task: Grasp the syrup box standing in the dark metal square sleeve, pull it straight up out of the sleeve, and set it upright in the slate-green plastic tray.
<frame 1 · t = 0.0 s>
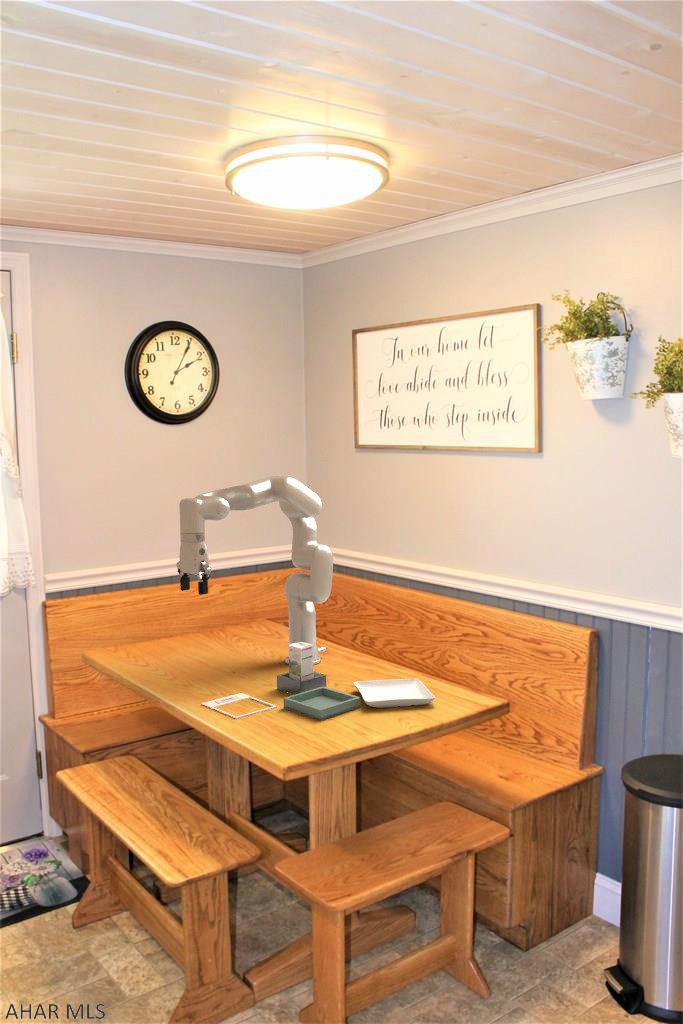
hand: (194, 592, 268), 31 cm above the table, tool pointing down, fingers open, 9 cm apart
syrup box: (301, 689, 270), resting in sleeve
sleeve: (301, 689, 270), on the table
tray: (322, 707, 252), on the table
salad plate: (392, 700, 260), on the table
photo frame: (239, 708, 254), on the table
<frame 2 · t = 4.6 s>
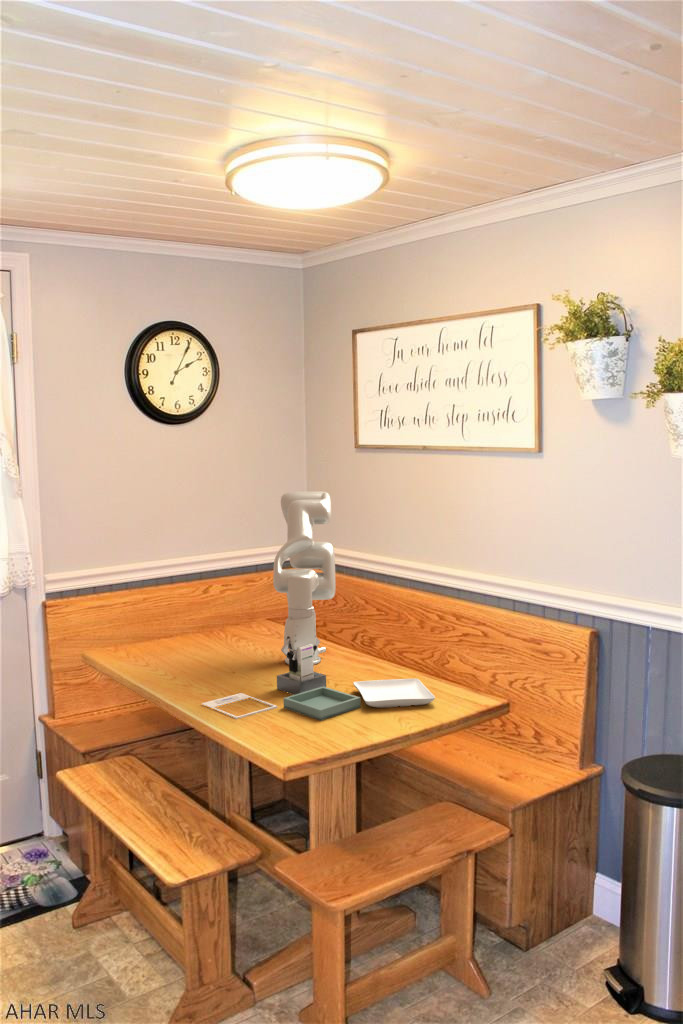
hand: (301, 668, 269), 7 cm above the table, tool pointing down, fingers closed on syrup box, 5 cm apart
syrup box: (301, 689, 270), resting in sleeve, touching gripper
everything else where it was.
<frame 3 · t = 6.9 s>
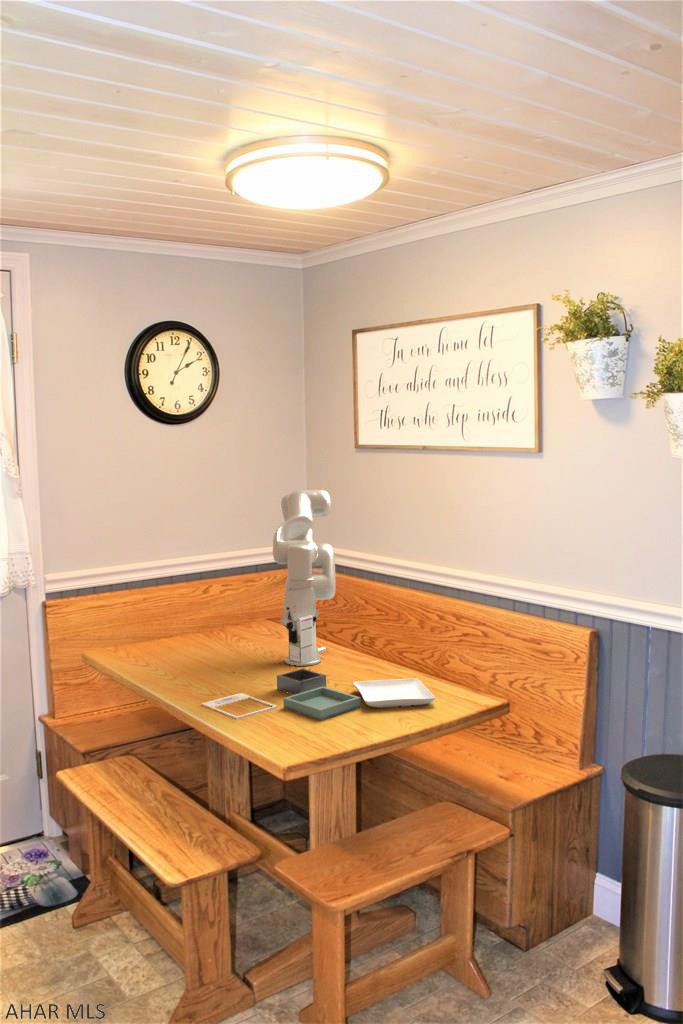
hand: (300, 639, 269), 16 cm above the table, tool pointing down, fingers closed on syrup box, 5 cm apart
syrup box: (301, 661, 270), point 9 cm above the table, touching gripper
everything else where it was.
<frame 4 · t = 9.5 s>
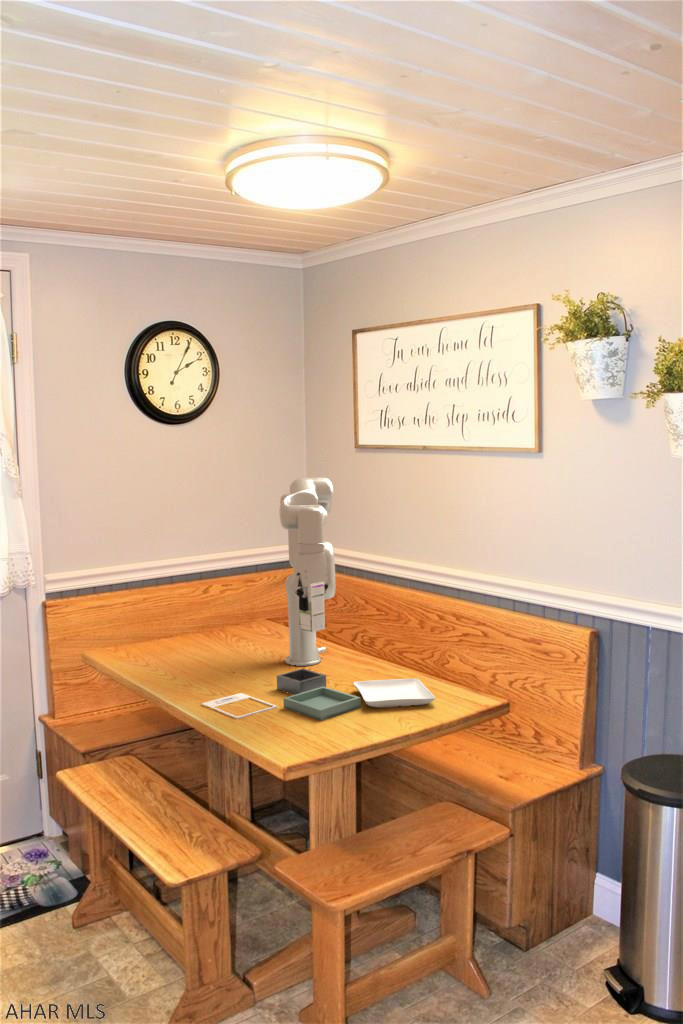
hand: (311, 608, 256), 28 cm above the table, tool pointing down, fingers closed on syrup box, 5 cm apart
syrup box: (312, 630, 257), point 21 cm above the table, touching gripper
everything else where it was.
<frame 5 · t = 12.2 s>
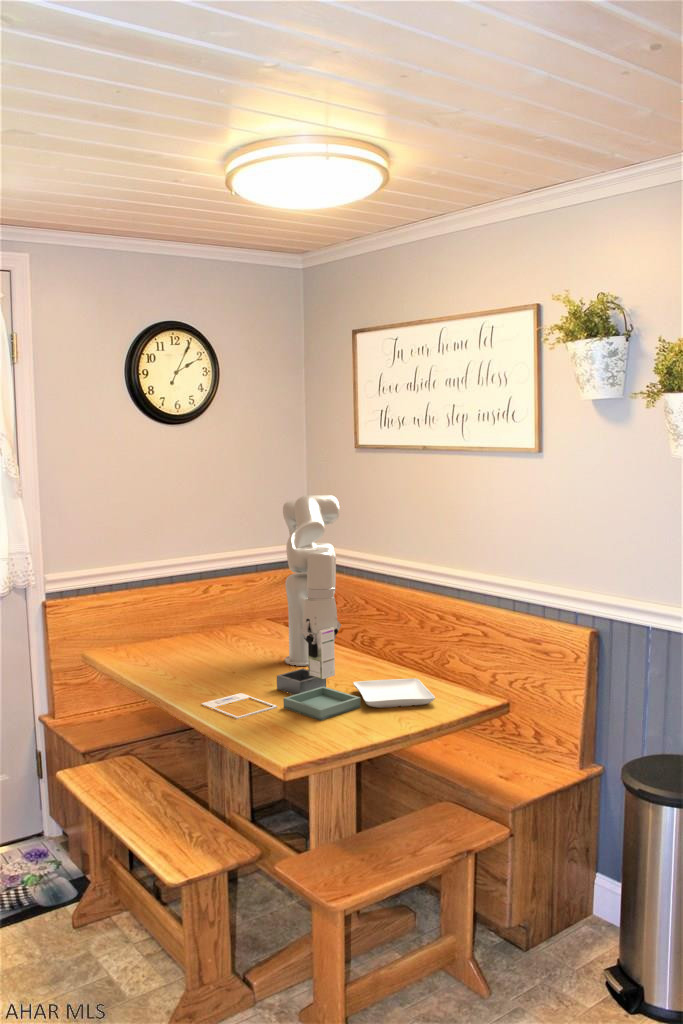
hand: (321, 654, 250), 16 cm above the table, tool pointing down, fingers closed on syrup box, 5 cm apart
syrup box: (321, 676, 251), point 9 cm above the table, touching gripper
everything else where it was.
when the fingers open (9 cm above the table, at t = 14.5 s): syrup box drops 1 cm, resting on tray.
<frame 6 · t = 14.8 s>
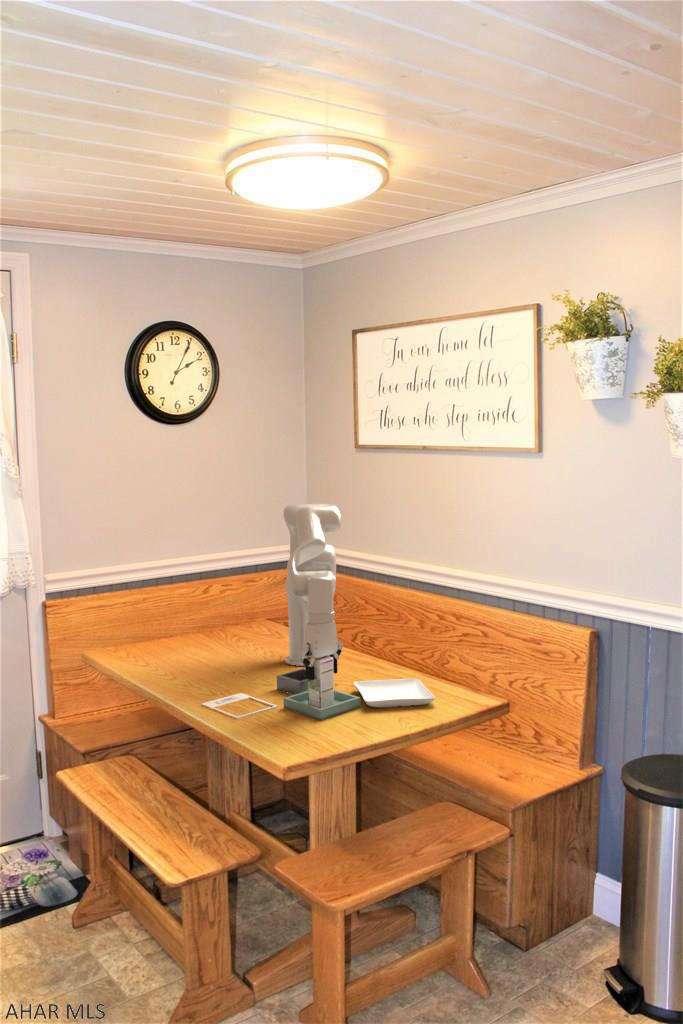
hand: (321, 675, 251), 10 cm above the table, tool pointing down, fingers open, 8 cm apart
syrup box: (320, 705, 252), point 1 cm above the table, touching tray
everything else where it was.
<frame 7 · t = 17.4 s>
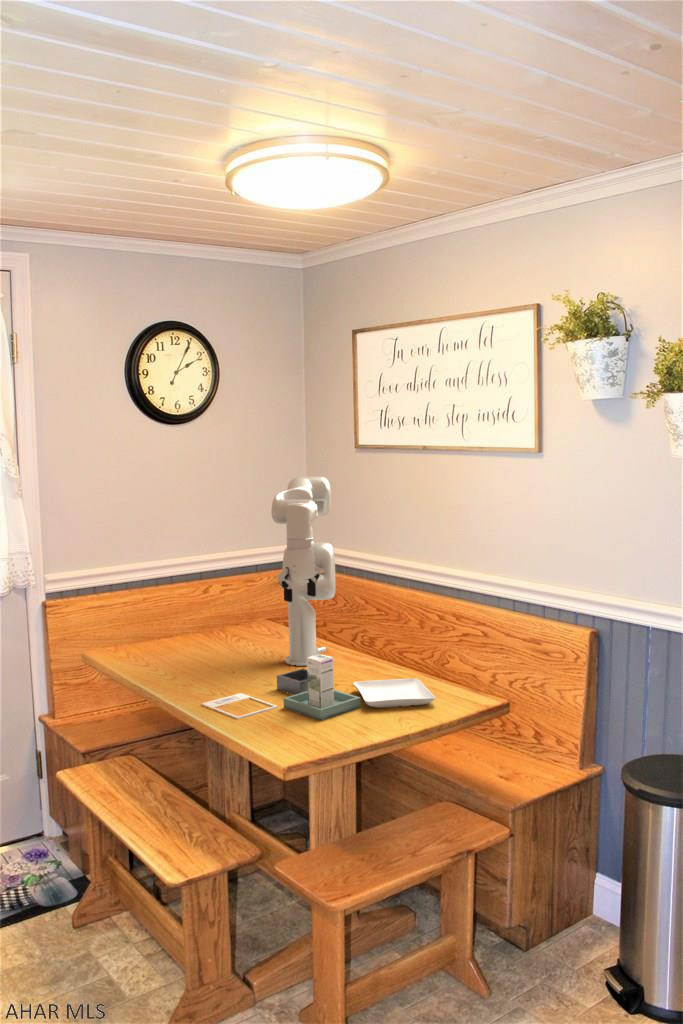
hand: (300, 598, 263), 30 cm above the table, tool pointing down, fingers open, 9 cm apart
nothing on the table moved.
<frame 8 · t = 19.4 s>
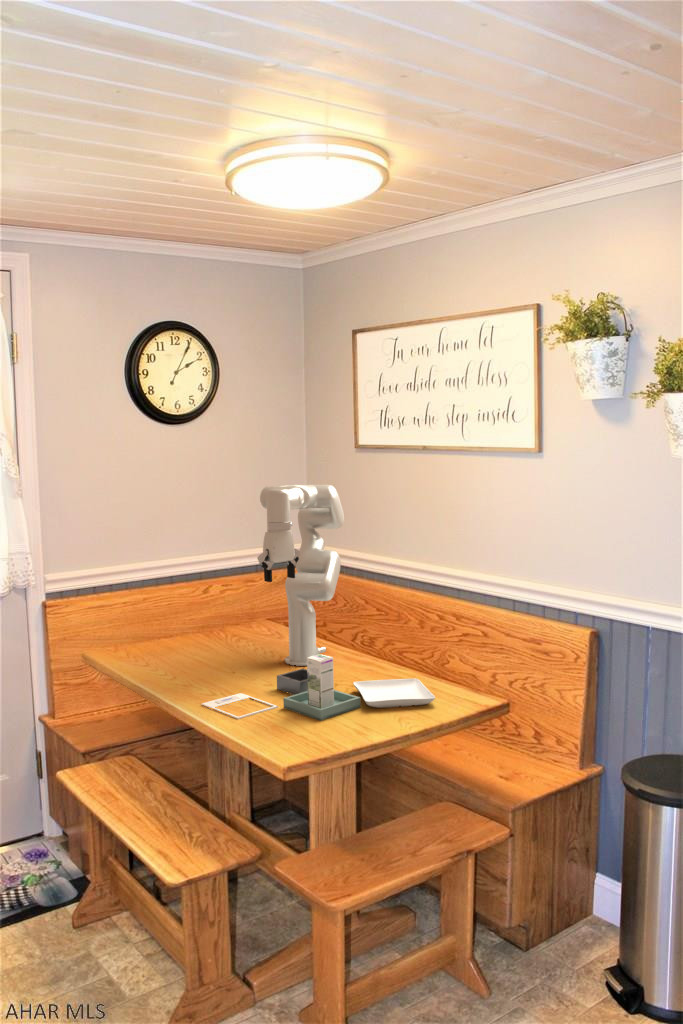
hand: (279, 579, 277), 33 cm above the table, tool pointing down, fingers open, 9 cm apart
nothing on the table moved.
at the end: syrup box inside the target area on the tray (0.4 cm from its centre), point 0.6 cm above the tray's base; syrup box tilted 0°; the gripper is holding nothing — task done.
